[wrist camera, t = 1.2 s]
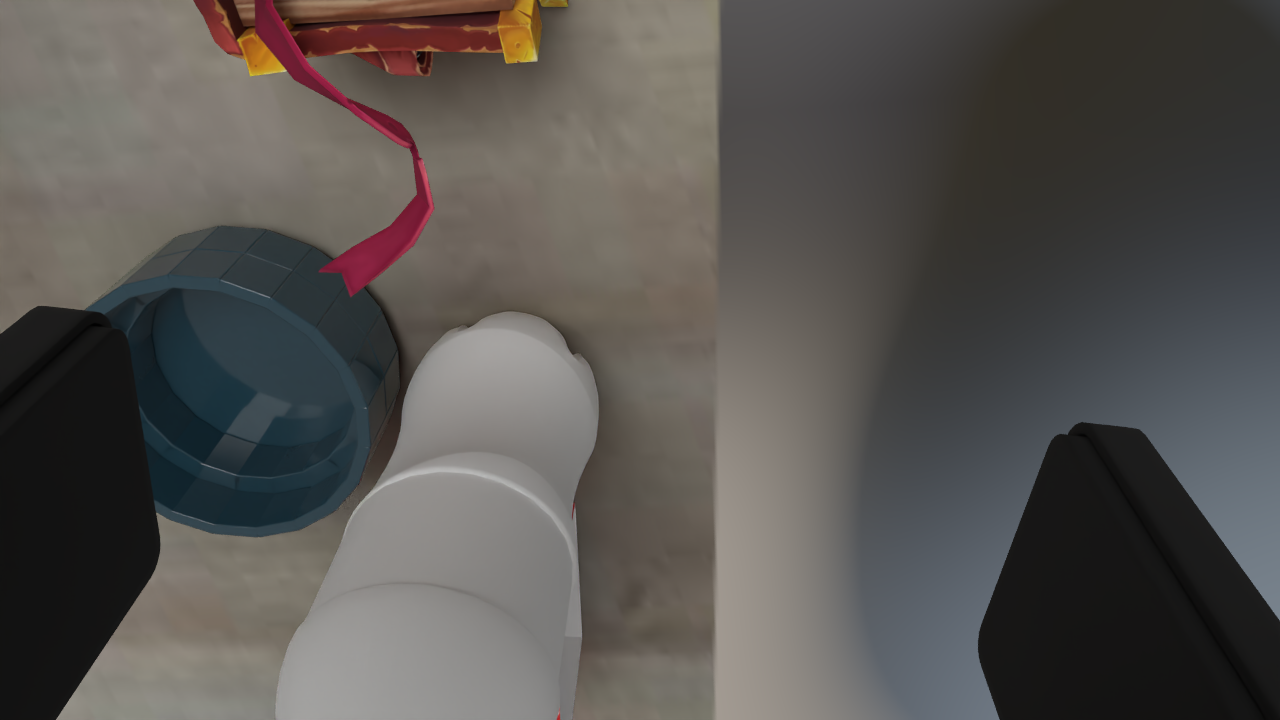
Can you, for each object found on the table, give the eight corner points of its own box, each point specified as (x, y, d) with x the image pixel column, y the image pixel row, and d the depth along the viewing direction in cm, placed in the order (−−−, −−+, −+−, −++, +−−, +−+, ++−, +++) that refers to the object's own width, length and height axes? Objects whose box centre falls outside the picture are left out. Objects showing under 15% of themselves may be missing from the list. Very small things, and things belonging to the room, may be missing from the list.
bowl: (69, 307, 40) (-6, 370, 36) (275, 167, 37) (220, 217, 32) (259, 499, 44) (212, 577, 40) (458, 389, 41) (431, 460, 37)
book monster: (539, -243, 30) (593, 142, 36) (249, -206, 31) (351, 163, 37) (467, -223, 21) (555, 284, 27) (62, -172, 22) (239, 306, 28)
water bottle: (411, 295, 39) (68, 929, 17) (596, 287, 39) (482, 928, 17) (441, 448, 43) (187, 1136, 21) (610, 443, 42) (532, 1141, 20)
